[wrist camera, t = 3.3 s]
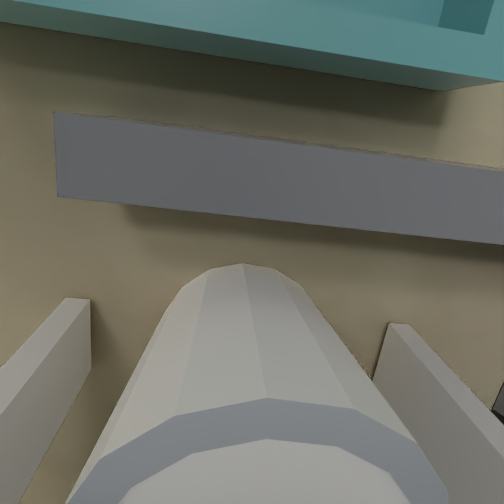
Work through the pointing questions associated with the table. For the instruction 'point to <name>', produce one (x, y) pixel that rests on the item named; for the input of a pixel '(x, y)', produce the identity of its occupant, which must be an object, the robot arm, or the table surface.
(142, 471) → the shot glass
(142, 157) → the bay
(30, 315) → the table surface
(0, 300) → the table surface
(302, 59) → the tray
